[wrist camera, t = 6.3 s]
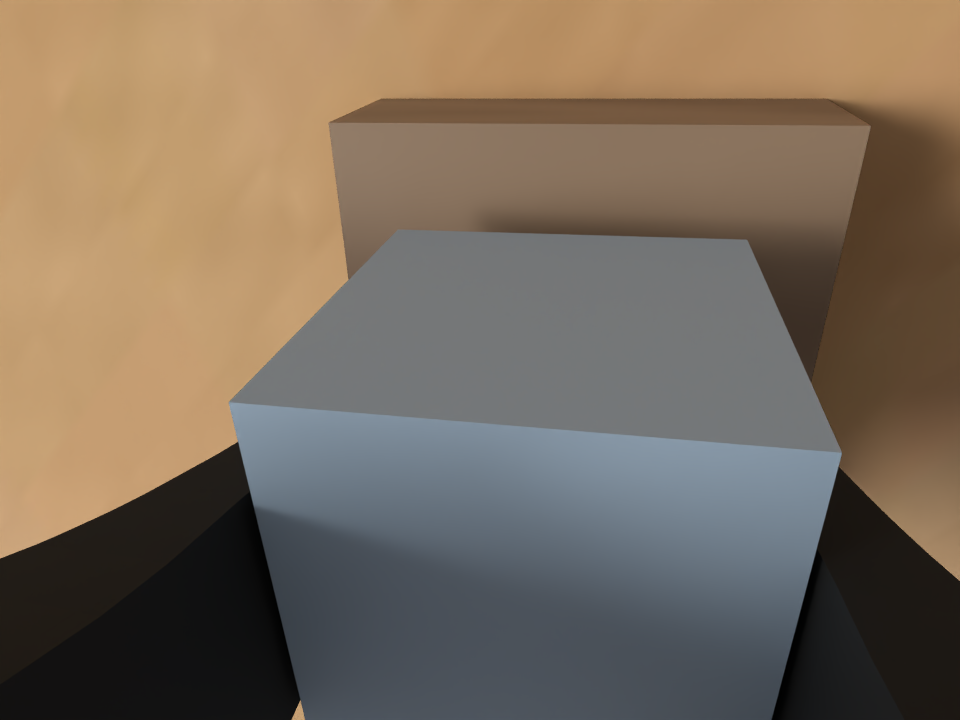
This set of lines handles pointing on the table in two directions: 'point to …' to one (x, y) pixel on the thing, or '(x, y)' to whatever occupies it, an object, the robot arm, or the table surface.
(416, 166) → the walnut base
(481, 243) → the gray cube
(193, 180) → the table surface
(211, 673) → the robot arm
